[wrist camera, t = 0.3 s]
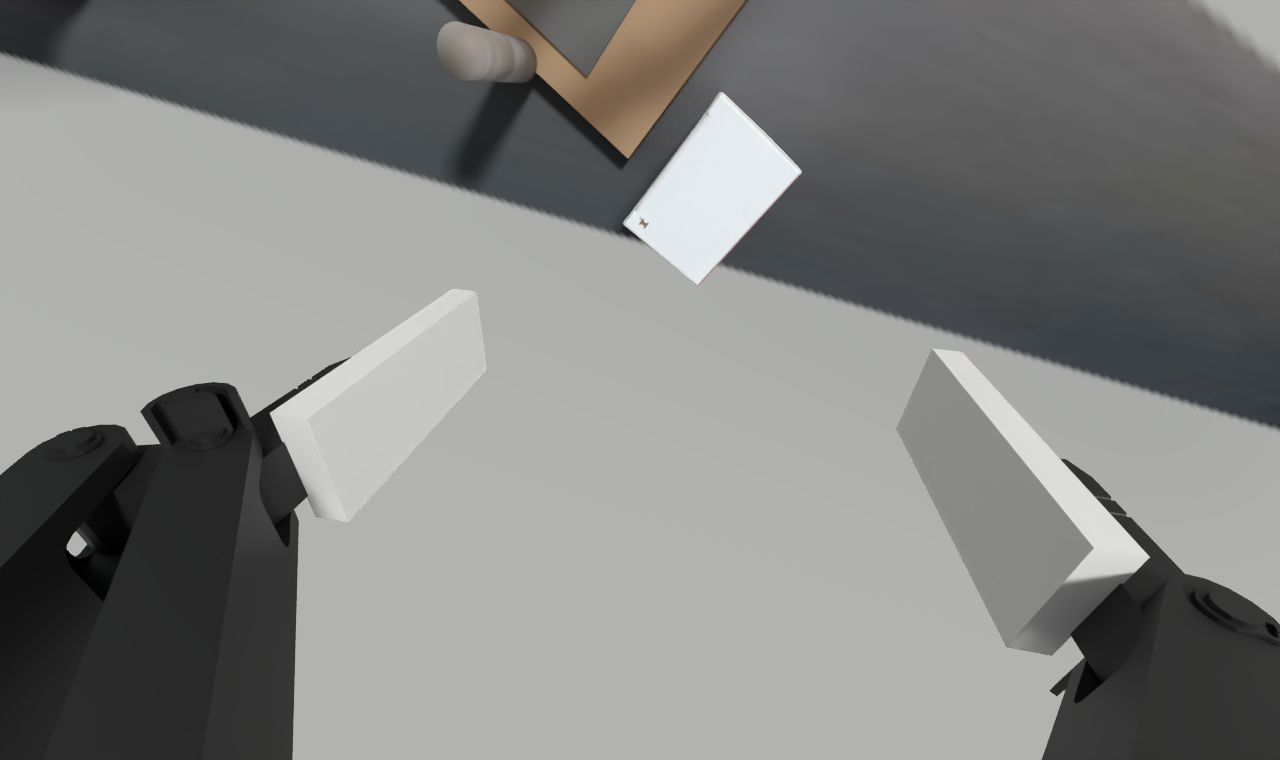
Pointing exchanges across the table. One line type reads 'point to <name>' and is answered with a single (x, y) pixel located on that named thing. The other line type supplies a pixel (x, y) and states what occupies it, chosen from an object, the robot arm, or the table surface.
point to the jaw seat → (591, 53)
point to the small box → (712, 191)
